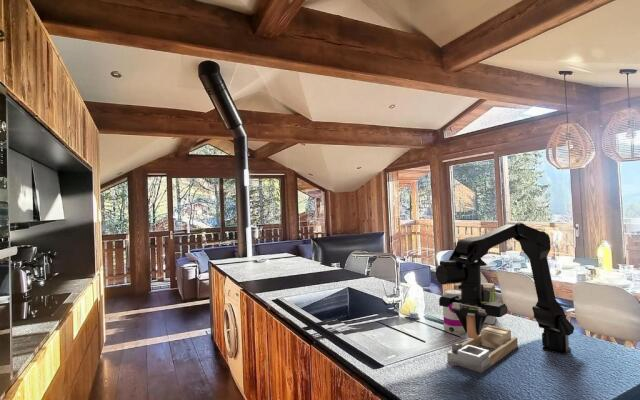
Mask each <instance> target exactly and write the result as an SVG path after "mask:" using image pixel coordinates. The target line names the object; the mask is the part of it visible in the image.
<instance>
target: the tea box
mask: <svg viewBox="0 0 640 400" xmlns="http://www.w3.org/2000/svg"><path fill="white" fill-rule="evenodd" d="M481 284H483V287H484V290H487V291H490V301H489V302H486V301H485V302H482V303H484V304H489V303H491V302H497V299H496V297H497V296H496V295H497V294H496V284H495V283H493V282H481ZM452 285H453V290H461V289H459V285H461V283H454V284H452ZM475 306H478V305H475ZM476 313H478V309H475V308H470V307H469V309H468V315H475V314H476ZM496 320H497V317H493V316H487V317H486V319H485V321H484V324H489V325H490V324H491V325H494V324H495V322H496Z"/></svg>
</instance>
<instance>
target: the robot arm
mask: <svg viewBox="0 0 640 400" xmlns="http://www.w3.org/2000/svg"><path fill="white" fill-rule="evenodd" d="M512 239H514V240H515V241H517V242H519V245H520V248H521V250H522V251H523V253H524V255H526V256H527V258H528V259H529V264H530V268H531V272H532V273H531V274H532V277H533V282H534V287H535V292H536V296H537V302H536V304H535V305H533V306H532V311H533V318H534V319H535V320H536V322H537V325H538V327H539V328H540V329H543V332H542V333H541V340H542V341H541V342H542V343H541V344H542V346H543V347H542V350H545V351H549V352H553V353H557V354H561V355H566V354H567V353H569V351H571V347H570V346H569V345H570V343H569V340H570V339H569V336H571V335H572V334H574V331H575V327H574V325H573V324H572V323H571V322H570V320H568V319H567V316H566V312H565V310H564V308H563V307H562V306H561V304H560V303H559V302H558V300H557V299H556V295H555V290H554V286H553V281H552V276H551V271H550V266H549V262H548V261H549V260H548V255H549V253H550V251H551V250H552V249H551V238H550V235H549V234H548V233H547V232H545V231H542V230H539V229H536V228H533V227H531V226H528V225H527V224H525V223H522V222H519V221H509V222H507V223H505V224H504V225H502V226H499V227H498V228H495V229H492V230H491V231H489V232H486V233H484V234H482V235H479V236H472V237H466V238H461V239H459V240H457V242H456V245H455V248H454V250H453V252H452V253H451V255H450V257H449V259H448V260H440V261H439V265H437V267H436V270H435V278H436V280H437V281H438V283H439V284H440V285H442V286H443V285H454V284H456V283H461V285H459V289H461V298H460V299H459V297H458V295H452V294H446V295H443V294H442V295H441V296H439V299H438V305H439V306H440V307H443V306H444V307H449V306H450V305H451V304H453V308H452V309H451V310H452V311H454V312H455V314H456V315H457V317H458V318H459V320H460V322H461V324H462V326H463V328H464V330H465V333H467V320H466V316H467V315H468V309H469V307H470V308H475V309H478V313H476V314H475V323H476V332H477V335H480V333H481V330H482V329H483V328H484V324H485V323H484V321H485V319H486V317H487V316H493V317H496V318H501V317H503V316H505V315H507V314H508V312H509V311H508V306H507V304H506V303H503V302H499V301H496V302H491V303H489V304H484V303H482V302H485V301H486V302H489V301H490V291H487V290H484V287H483V284H481V283H482V276H481V275H482V274H481V267H486V266H487V263H486V262H485V261H484V260H483V259H482V258H483V257H485V256H486V255H488V252H489V250H491V249H492V248H494V247H496V246H498V245H501V244H502V243H505V242H507V241H510V240H512ZM475 305H478V306H475Z"/></svg>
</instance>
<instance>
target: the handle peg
mask: <svg viewBox="0 0 640 400" xmlns="http://www.w3.org/2000/svg"><path fill="white" fill-rule="evenodd" d="M466 320H467V332H466V336H467V338H469V339H471V338H473V339H476V338H479V335H477V332H476V323H475V315H467V316H466Z"/></svg>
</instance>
